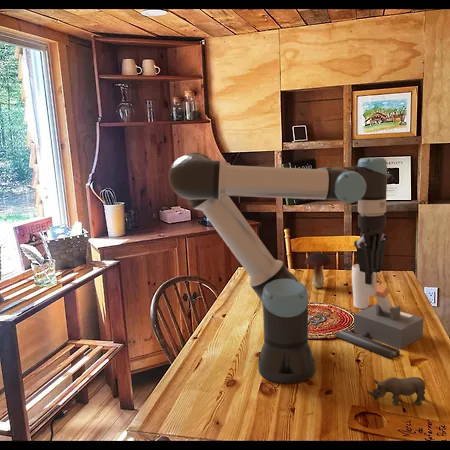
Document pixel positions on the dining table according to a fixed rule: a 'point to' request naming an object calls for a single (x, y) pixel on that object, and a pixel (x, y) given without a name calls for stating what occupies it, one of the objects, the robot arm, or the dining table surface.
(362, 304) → the tall cup
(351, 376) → the dining table surface
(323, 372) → the dining table surface
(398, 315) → the switch block
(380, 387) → the rhino figurine
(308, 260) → the decorative mushroom
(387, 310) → the toggle lever
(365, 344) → the cable bundle
